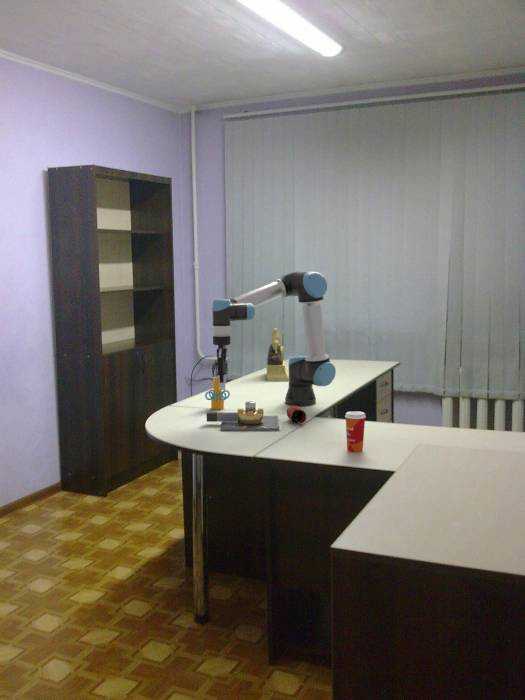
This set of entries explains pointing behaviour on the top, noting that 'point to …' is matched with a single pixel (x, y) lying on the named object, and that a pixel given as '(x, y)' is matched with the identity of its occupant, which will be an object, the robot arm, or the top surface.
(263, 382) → the top surface
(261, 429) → the flat plate
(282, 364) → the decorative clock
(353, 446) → the paper cup
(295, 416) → the beverage can
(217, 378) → the cylinder
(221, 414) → the brass knob with lugs
